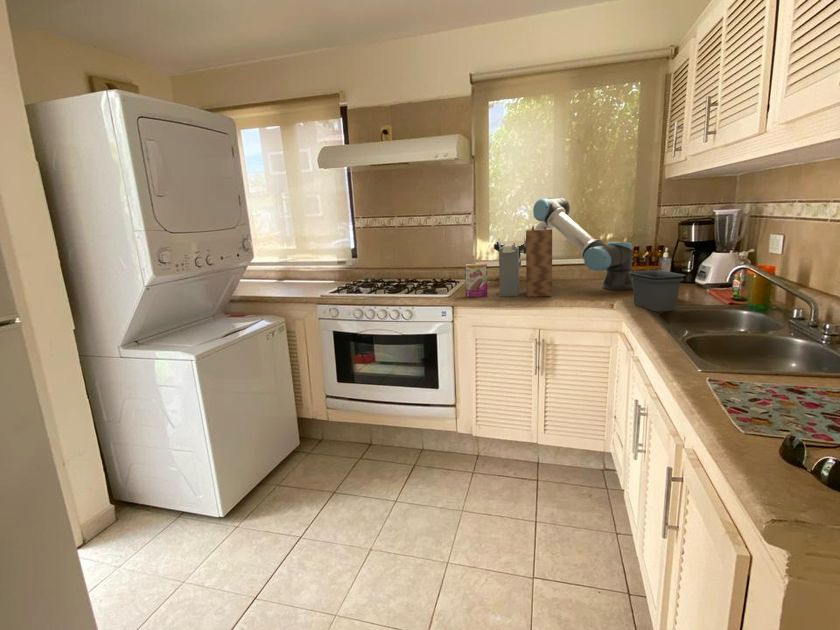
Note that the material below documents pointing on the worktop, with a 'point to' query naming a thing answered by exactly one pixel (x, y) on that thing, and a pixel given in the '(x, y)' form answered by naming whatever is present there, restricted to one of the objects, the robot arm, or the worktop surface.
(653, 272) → the storage bin
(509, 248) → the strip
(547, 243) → the stand
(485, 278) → the candy bar box
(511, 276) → the rack
